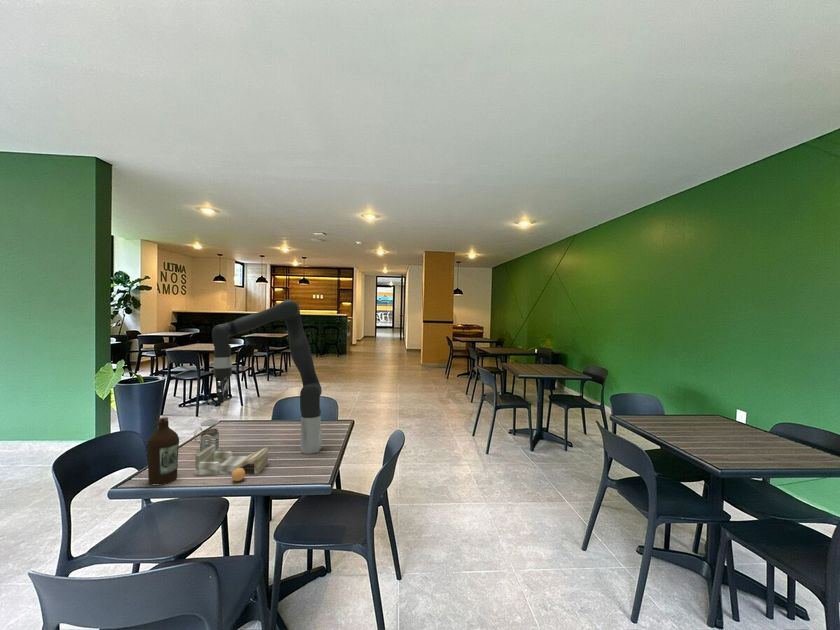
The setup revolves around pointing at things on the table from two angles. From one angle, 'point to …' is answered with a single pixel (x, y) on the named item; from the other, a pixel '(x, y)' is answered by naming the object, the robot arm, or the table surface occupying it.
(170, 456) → the olive oil
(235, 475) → the ball
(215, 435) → the french press
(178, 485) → the table surface
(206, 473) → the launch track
